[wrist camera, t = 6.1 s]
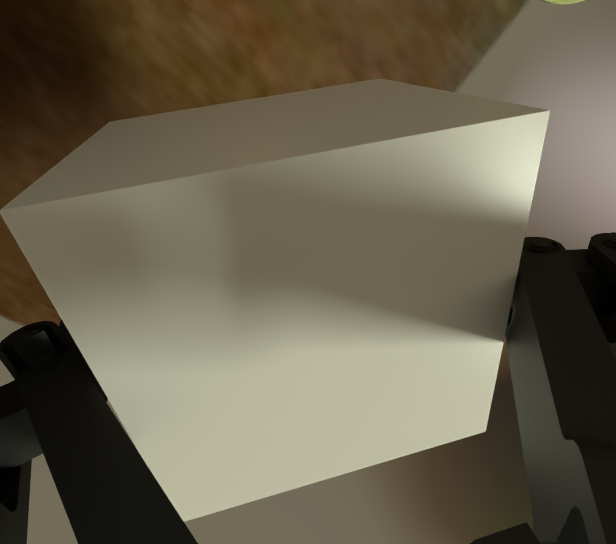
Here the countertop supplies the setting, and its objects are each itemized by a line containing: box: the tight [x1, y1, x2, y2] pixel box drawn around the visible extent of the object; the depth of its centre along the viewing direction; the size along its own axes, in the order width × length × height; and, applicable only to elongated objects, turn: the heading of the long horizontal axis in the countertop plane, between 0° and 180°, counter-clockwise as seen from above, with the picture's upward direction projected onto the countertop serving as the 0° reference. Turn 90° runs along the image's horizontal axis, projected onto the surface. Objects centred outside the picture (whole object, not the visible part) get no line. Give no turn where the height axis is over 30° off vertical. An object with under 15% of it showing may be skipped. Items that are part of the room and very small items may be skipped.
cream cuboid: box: [0, 79, 550, 522], centre depth 13 cm, size 10×10×9 cm
